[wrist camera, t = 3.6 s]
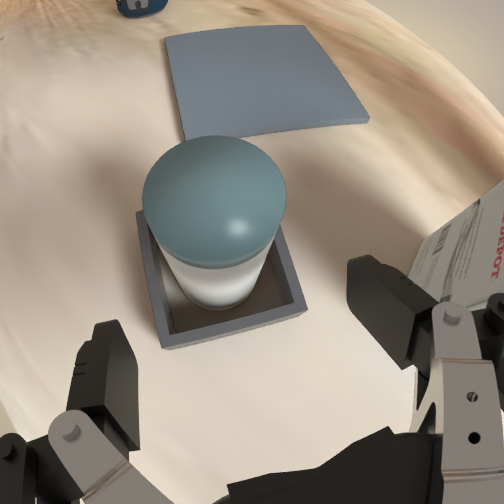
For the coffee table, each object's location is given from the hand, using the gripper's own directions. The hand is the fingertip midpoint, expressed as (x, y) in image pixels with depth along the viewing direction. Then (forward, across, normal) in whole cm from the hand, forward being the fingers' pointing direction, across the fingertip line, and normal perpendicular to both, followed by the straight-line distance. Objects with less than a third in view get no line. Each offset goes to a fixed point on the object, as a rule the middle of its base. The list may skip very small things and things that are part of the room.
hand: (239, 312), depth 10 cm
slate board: (+22, -8, -9) cm, 25 cm away
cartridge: (+9, 0, +4) cm, 10 cm away
